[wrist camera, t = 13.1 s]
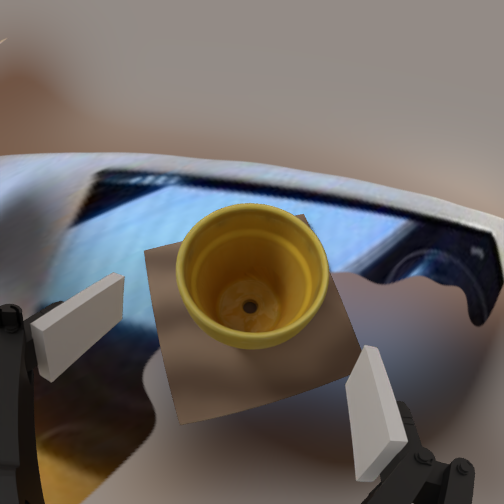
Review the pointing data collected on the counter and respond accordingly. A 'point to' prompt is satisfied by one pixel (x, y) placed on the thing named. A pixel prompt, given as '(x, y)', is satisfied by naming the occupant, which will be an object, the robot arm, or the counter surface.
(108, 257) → the counter surface
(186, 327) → the walnut board
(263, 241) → the plant pot
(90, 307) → the robot arm
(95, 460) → the counter surface
